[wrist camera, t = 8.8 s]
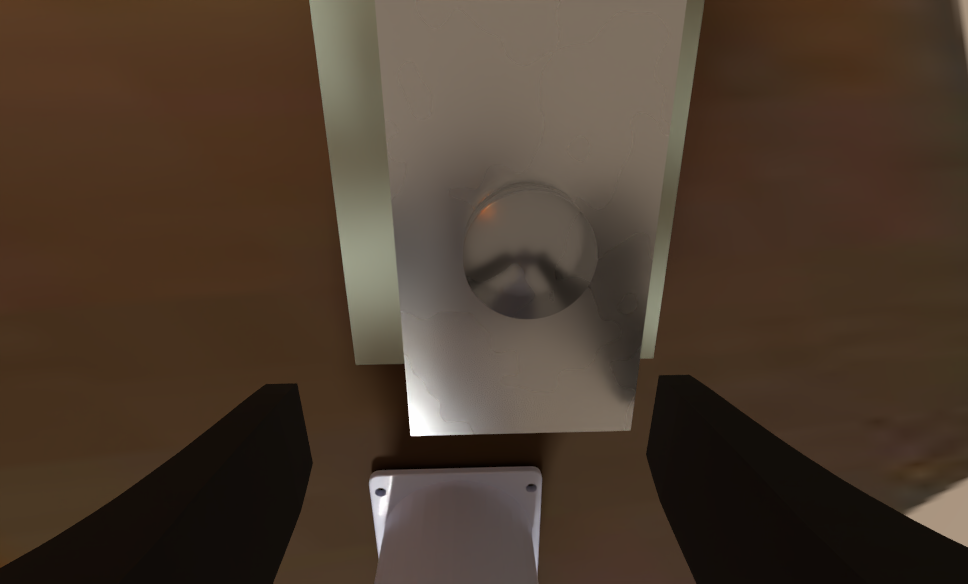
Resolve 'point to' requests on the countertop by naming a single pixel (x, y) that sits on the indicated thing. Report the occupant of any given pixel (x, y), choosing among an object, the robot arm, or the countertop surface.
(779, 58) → the countertop surface
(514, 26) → the housing
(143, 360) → the countertop surface
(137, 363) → the countertop surface
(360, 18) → the stand
